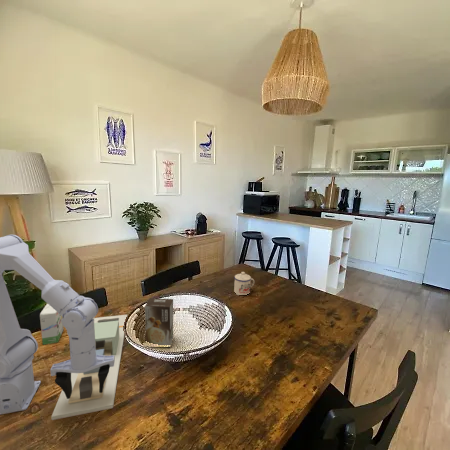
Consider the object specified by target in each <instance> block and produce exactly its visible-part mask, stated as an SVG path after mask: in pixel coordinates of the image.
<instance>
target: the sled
mask: <svg viewBox="0 0 450 450" xmlns="http://www.w3.org/2000/svg"><path fill="white" fill-rule="evenodd" d="M95 347H96V350H100V349H104V355H105V356H111V353H112V349H113V348H112V342H107V343H105V340H102V341H96V344H95ZM105 381H106V379H105ZM104 386H105V382H104ZM103 391H104V388H103ZM102 396H103V392H102V393H99V378H98V372H95V373H89V374H83V373H78V376H77V379H76V382H75V384H74V387H73V390H72V394H71V397H70V398H69V401H68V404H69V403H74V402H80V401H85V400H90V399H96V398H101V397H102Z"/></svg>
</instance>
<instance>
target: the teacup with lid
mask: <svg viewBox="0 0 450 450" xmlns="http://www.w3.org/2000/svg"><path fill="white" fill-rule="evenodd" d="M254 284H255V280H254V278H252V276H250V274H248V273H246V272H245V271H241V273H237V274H235V275H234V287H233V288H234V289H233V292H235V293H236V294H235V293H234V294H235V295H237V296H239V295H247V294H249V293H250V294H251V288H253V286H254ZM250 294H249V295H250ZM247 296H248V295H247Z"/></svg>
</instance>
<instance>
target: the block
mask: <svg viewBox="0 0 450 450" xmlns="http://www.w3.org/2000/svg"><path fill="white" fill-rule="evenodd" d="M96 355H104V349H100V350H96ZM99 369H100V367H98V368H95V369H92V370H90V371H87V372H84V373H83V374H89V373H95V372H99Z"/></svg>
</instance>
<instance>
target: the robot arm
mask: <svg viewBox="0 0 450 450" xmlns="http://www.w3.org/2000/svg"><path fill="white" fill-rule="evenodd" d="M29 251H30V250H29V245H28V243H26V242H24V240H23V239H22V238H21V237H19V235H16V234H7V235H4V236H1V237H0V415H5V414H10V413H16V412H21V411H25V410H27V409H28V407H29V406H30V404H31V402H32V400H33V398H34V397H35V394H36V392H38V388H39V387H40V386H41V383H42V382H41V380H35V379H34V377H35V376H34V369H33V368H34V367H33V359H34V358H35V357H34V355H35V353H36V352H37V351H38V349H39V344H38V341H37V339H35V338H34V336H33V335H32V332H31V330H29V329H27V328H21V326H20V324H19V321H18V317H17V315H16V312H15V309H14V305H13V303H12V300H11V298H10V297H11V296H10V294H9V291H8V287H7V285H6V282H5V279H4V277H3V274H4V272H5V271H15V272H17V273H18V274H19V275H20V276H22V277H23V278H24V279H25V280H27V281H29V282H30V283H31V284H32V285H34V286H35V287H36V288H37V289H39V290H40V291H41V299H42V300H43V301H44V302H45V303H46V304H49V305H50V306H51V307H52V308H53V309H55V310H56V311H57V312H58V313H59V314H60V315H61V316H62V317H63V319H61V321H62V324H63V328H65V330H66V334H67V335H68V339H69V340H68V341H69V344H68V345H69V354H70V355H69V357H70V359H68V360H64V361H62V362H58V363H52V366H51V367H50V377H54V376H55V379H54V383H55V385H57V386H58V387H60V389H61V391H62V390H63V391H64V393H65V395H66V397H67V399H69V398H70V397H71V394H72V383H71V373H84V372H87V371H90V370H92V369H95V368H98V367H100V369H99V372H98V378H99V393H102V392H103V388H104V382H105V379H106V377H107V375H108V373H109V369H110V367H113V366H114V363H115V356H114V355H113V356H105V355H96V347H95V328H94V319H93V318H96V316H97V314H98V313H99V307H98V304H97V303H96V302H95V300H94V299H92V298H91V297H86V296H83V295H80V294H79V293H78V292H76V291H75V290H74V289H73V288H72V287H71V286H70V284H69V283H68V282H65V281H64V280H62V279H61V280H60V279H54V278H53V277H52V276H51V274H49V272H48V271H46V269H45V268H44V267H43V266H42V265H41V264H40V263H39V262H38V261H37V260H36V259H35V258H34V257H33V255H32V254H30V252H29Z"/></svg>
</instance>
